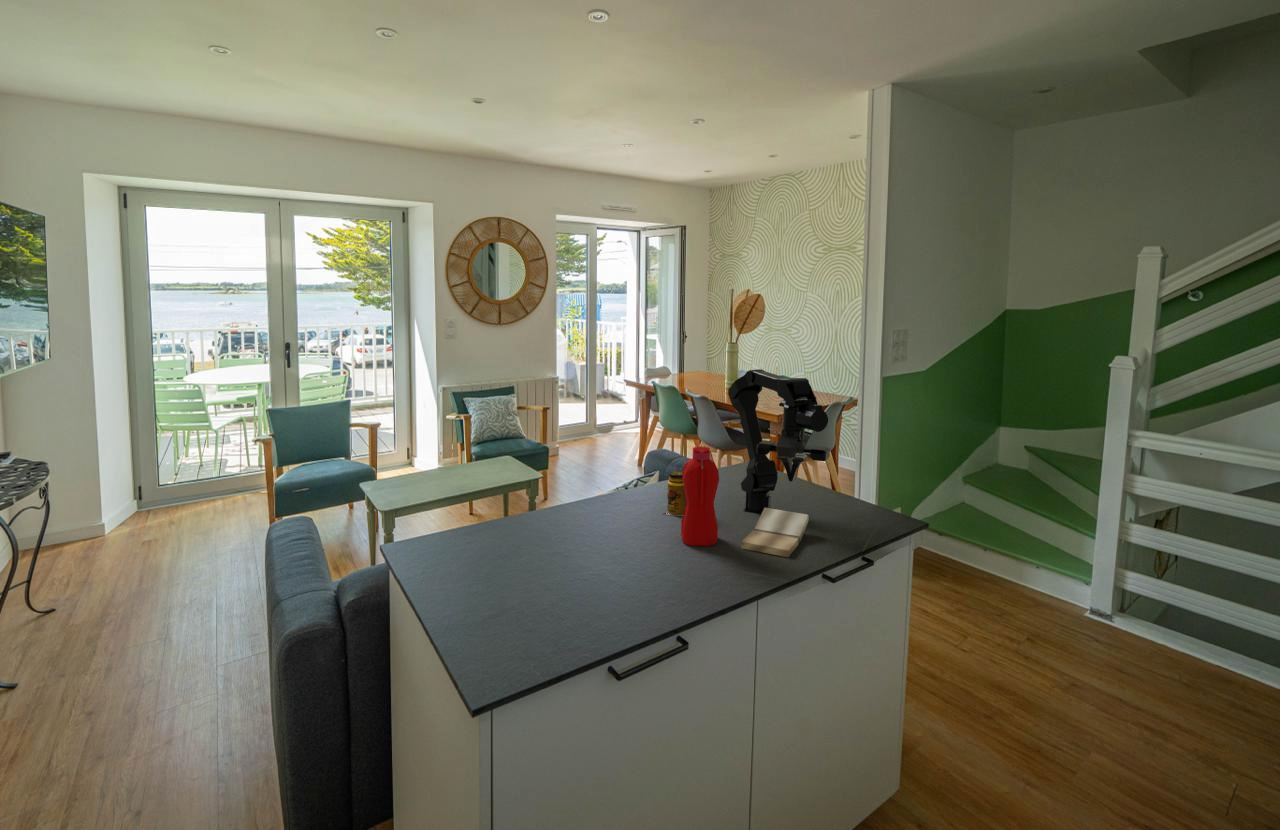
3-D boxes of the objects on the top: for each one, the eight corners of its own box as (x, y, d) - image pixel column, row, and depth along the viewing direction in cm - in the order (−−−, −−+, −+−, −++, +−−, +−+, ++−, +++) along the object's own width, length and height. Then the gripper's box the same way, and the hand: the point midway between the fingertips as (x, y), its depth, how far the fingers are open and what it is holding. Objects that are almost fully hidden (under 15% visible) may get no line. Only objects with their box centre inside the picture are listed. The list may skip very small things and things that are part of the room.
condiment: (662, 514, 190) (663, 474, 188) (671, 505, 198) (672, 467, 195) (686, 517, 187) (687, 477, 185) (694, 508, 195) (695, 469, 193)
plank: (755, 534, 173) (754, 528, 172) (765, 513, 180) (764, 507, 179) (800, 542, 168) (799, 536, 167) (808, 520, 174) (808, 514, 174)
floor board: (741, 549, 164) (741, 541, 164) (753, 536, 173) (754, 529, 172) (788, 558, 158) (788, 550, 158) (798, 544, 167) (799, 537, 167)
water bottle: (682, 550, 163) (684, 453, 158) (680, 534, 174) (682, 443, 169) (719, 550, 163) (722, 453, 158) (714, 535, 174) (717, 443, 169)
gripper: (750, 426, 172) (748, 483, 175) (822, 433, 164) (819, 493, 166) (763, 420, 182) (761, 474, 185) (831, 426, 173) (828, 483, 176)
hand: (791, 481), depth 178 cm, fingers closed
